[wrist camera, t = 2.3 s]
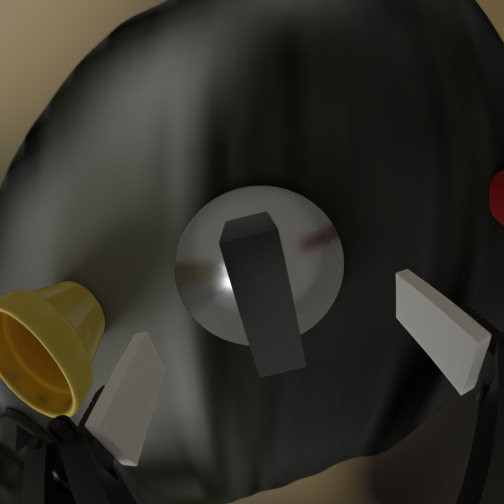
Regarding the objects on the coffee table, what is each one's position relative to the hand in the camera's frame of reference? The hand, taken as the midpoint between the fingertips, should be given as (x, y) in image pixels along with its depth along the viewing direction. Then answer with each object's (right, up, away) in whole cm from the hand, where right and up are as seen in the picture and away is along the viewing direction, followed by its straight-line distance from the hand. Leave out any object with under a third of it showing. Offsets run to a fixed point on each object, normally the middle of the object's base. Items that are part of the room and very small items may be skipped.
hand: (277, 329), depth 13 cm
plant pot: (-18, -2, +9) cm, 20 cm away
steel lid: (-1, +2, +9) cm, 9 cm away
